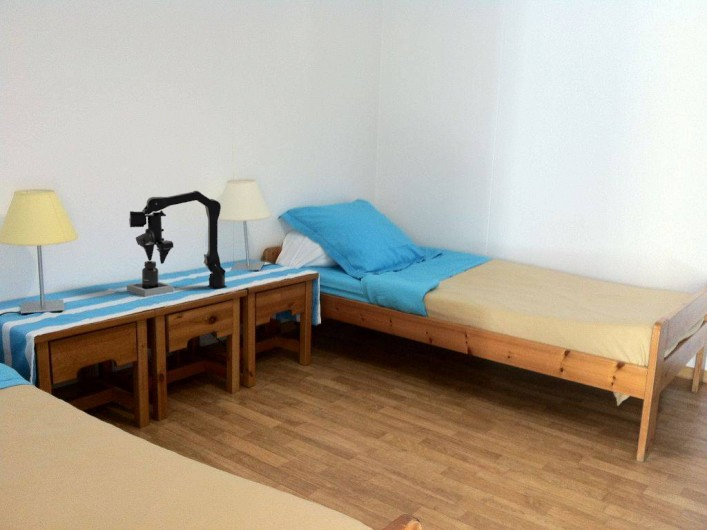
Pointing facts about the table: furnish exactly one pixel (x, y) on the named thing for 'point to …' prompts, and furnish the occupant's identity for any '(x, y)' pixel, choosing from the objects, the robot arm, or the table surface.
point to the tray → (148, 292)
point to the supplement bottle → (150, 275)
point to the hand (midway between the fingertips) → (155, 262)
